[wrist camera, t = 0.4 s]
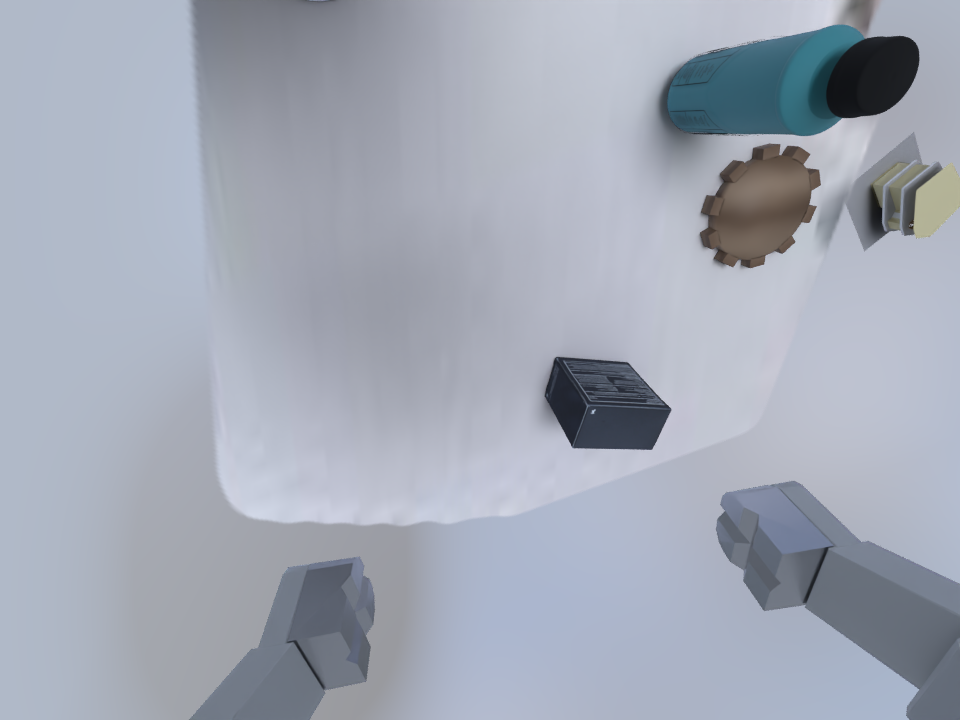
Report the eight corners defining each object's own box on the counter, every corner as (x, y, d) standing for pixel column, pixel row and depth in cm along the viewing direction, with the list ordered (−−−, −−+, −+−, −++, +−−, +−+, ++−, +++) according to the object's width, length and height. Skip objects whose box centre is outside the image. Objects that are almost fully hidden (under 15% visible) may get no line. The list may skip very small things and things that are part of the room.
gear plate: (703, 161, 45) (712, 162, 44) (818, 130, 46) (830, 131, 44) (697, 276, 52) (705, 280, 51) (797, 248, 52) (808, 252, 51)
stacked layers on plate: (840, 192, 50) (887, 200, 45) (913, 131, 48) (970, 133, 43) (864, 251, 55) (908, 264, 50) (931, 198, 52) (984, 206, 48)
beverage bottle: (662, 144, 44) (836, 162, 27) (649, 72, 40) (838, 39, 23) (723, 115, 43) (938, 113, 26) (715, 39, 40) (956, -20, 23)
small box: (542, 398, 57) (569, 451, 48) (554, 355, 54) (586, 403, 45) (614, 402, 59) (653, 453, 50) (629, 361, 56) (674, 407, 47)
